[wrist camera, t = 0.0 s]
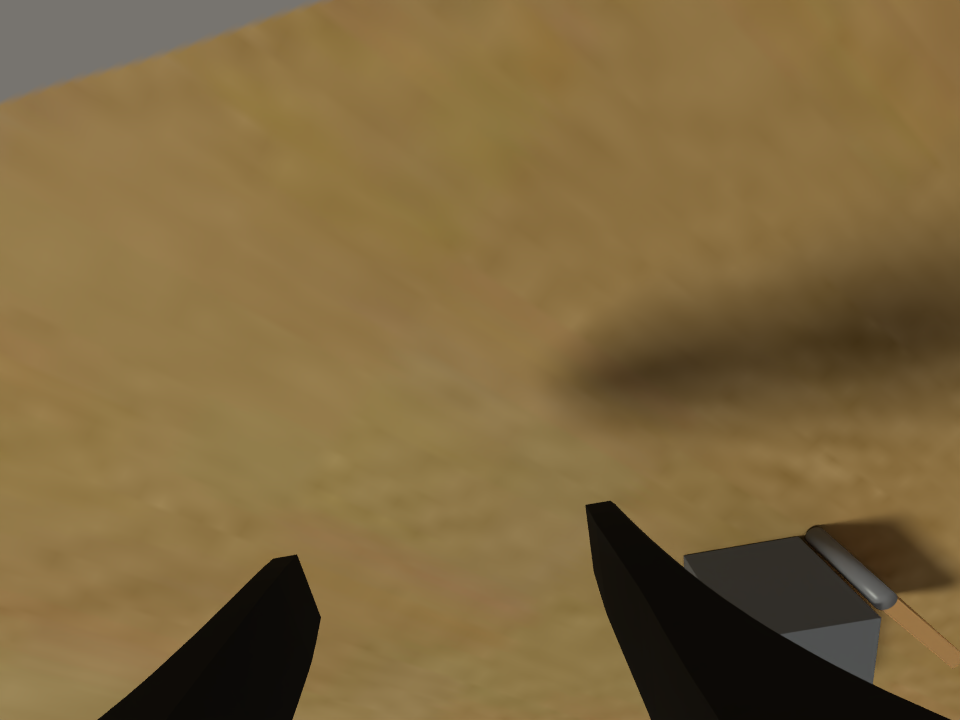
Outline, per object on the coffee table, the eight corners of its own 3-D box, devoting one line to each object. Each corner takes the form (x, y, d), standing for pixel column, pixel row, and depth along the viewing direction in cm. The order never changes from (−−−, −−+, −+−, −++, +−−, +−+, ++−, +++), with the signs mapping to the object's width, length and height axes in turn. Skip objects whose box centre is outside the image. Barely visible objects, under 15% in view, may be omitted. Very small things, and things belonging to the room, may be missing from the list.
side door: (891, 587, 25) (971, 659, 21) (875, 598, 25) (952, 671, 21) (817, 523, 23) (888, 588, 19) (801, 536, 24) (869, 602, 20)
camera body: (791, 686, 27) (870, 802, 22) (690, 702, 27) (744, 821, 22) (799, 536, 24) (895, 630, 18) (683, 555, 24) (746, 654, 19)
